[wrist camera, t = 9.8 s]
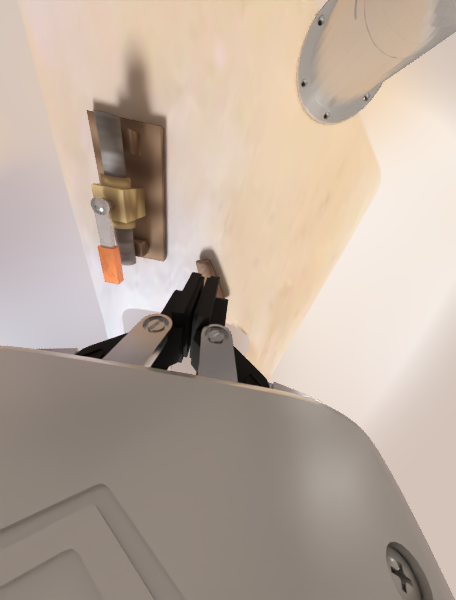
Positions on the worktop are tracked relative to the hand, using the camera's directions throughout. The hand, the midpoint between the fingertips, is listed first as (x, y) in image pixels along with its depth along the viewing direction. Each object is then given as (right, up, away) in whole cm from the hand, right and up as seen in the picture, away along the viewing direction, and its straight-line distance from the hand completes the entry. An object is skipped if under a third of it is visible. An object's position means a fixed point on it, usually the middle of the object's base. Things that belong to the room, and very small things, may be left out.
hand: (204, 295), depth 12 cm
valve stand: (-18, +21, +26) cm, 38 cm away
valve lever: (-19, +10, +21) cm, 31 cm away
